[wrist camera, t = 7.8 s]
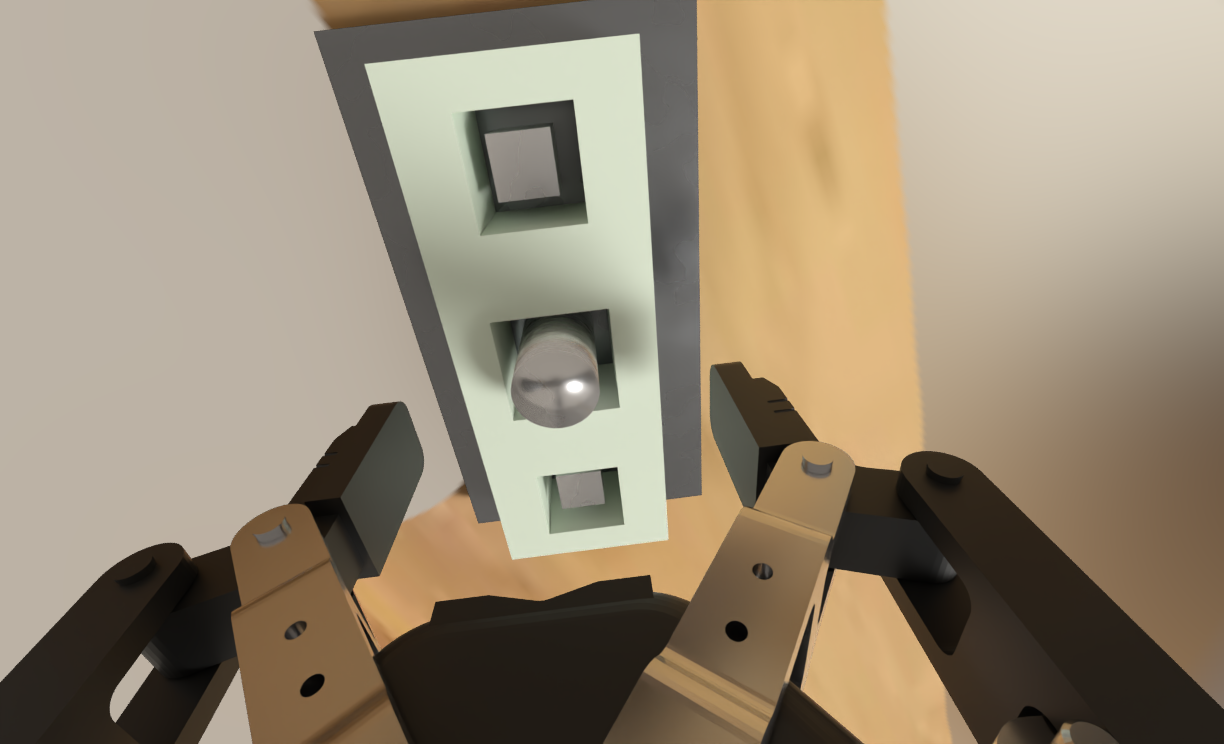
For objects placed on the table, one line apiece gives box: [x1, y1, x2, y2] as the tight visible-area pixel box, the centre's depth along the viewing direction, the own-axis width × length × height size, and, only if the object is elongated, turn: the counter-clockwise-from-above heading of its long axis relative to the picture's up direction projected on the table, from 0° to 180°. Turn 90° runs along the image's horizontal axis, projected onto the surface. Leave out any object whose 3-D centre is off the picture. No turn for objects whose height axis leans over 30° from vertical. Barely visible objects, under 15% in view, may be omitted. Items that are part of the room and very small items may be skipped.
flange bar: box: [364, 34, 668, 560], centre depth 16 cm, size 16×6×3 cm, turn 6°
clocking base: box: [314, 0, 702, 523], centre depth 16 cm, size 18×10×6 cm, turn 6°
